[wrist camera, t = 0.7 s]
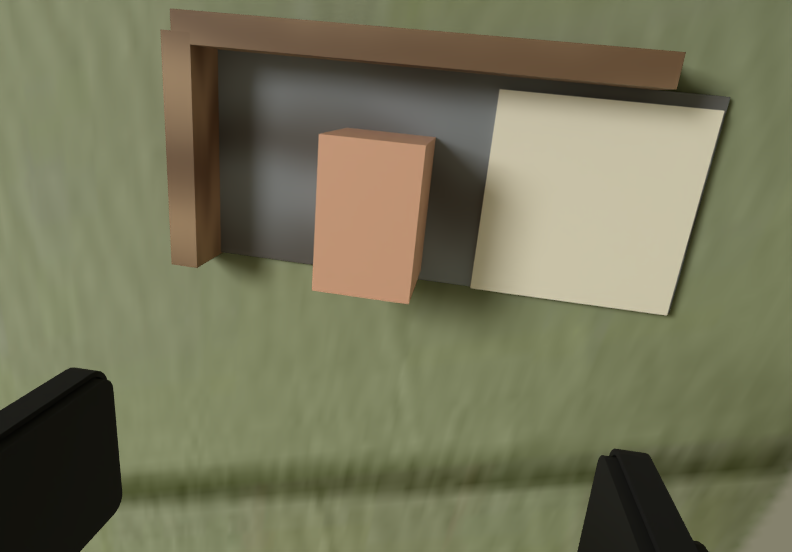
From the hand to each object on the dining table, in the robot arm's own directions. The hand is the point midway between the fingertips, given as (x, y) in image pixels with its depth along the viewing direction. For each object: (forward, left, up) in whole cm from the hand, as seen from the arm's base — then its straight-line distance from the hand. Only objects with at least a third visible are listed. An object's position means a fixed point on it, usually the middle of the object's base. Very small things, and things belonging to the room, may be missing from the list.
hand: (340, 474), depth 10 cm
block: (-1, -3, -19) cm, 19 cm away
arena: (-3, 0, -19) cm, 20 cm away
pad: (-2, +7, -19) cm, 21 cm away
